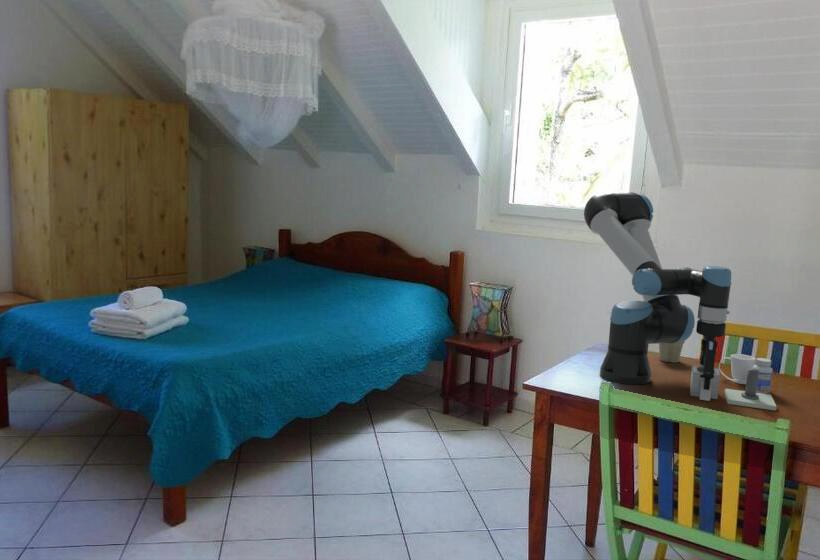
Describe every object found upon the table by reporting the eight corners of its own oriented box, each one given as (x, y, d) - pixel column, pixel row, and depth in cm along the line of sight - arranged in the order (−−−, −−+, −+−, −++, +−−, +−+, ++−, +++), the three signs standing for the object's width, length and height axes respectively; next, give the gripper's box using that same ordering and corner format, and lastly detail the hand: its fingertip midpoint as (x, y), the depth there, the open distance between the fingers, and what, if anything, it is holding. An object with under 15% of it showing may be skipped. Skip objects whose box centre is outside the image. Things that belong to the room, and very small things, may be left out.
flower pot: (688, 360, 232) (690, 336, 230) (678, 365, 225) (680, 340, 223) (660, 355, 238) (663, 331, 236) (650, 359, 231) (652, 335, 229)
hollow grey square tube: (690, 395, 194) (693, 371, 193) (689, 388, 200) (692, 365, 199) (717, 399, 191) (720, 375, 190) (715, 392, 198) (718, 369, 197)
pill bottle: (750, 387, 204) (754, 356, 203) (771, 391, 201) (775, 359, 200) (748, 391, 200) (752, 359, 198) (768, 395, 197) (772, 363, 195)
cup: (751, 387, 204) (755, 361, 203) (715, 380, 209) (718, 355, 208) (753, 381, 210) (756, 356, 209) (718, 375, 215) (721, 350, 214)
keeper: (727, 403, 188) (731, 371, 186) (724, 392, 198) (728, 362, 196) (776, 410, 184) (780, 378, 182) (770, 398, 194) (774, 367, 192)
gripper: (730, 331, 180) (720, 408, 183) (722, 314, 202) (714, 383, 206) (699, 327, 182) (691, 403, 185) (695, 311, 205) (688, 379, 208)
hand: (703, 393), depth 196 cm, fingers open, 12 cm apart
